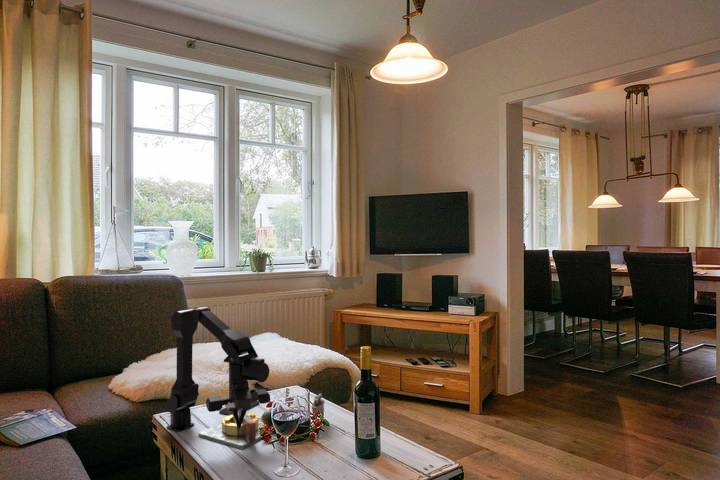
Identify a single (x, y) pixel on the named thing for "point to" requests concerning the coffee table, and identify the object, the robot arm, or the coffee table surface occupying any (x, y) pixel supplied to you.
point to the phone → (225, 411)
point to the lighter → (318, 405)
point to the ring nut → (242, 427)
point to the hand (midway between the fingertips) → (238, 427)
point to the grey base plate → (228, 436)
